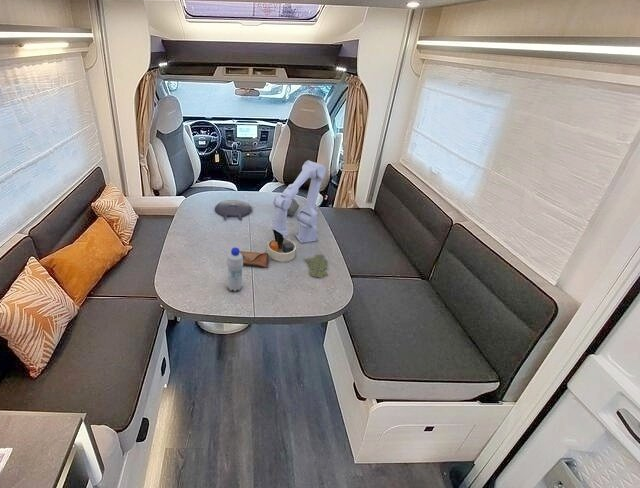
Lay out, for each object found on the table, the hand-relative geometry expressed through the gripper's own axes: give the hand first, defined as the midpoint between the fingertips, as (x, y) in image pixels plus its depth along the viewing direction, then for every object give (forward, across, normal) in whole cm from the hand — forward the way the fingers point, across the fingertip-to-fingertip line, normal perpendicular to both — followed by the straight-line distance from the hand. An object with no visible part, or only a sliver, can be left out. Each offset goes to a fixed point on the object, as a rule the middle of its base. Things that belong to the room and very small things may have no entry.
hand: (278, 242), depth 158 cm
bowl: (+5, +2, +1) cm, 6 cm away
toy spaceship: (+6, -49, -10) cm, 51 cm away
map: (+6, +15, +14) cm, 21 cm away
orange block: (+5, -1, -2) cm, 5 cm away
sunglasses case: (+6, +5, -17) cm, 18 cm away
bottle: (+6, +20, -29) cm, 36 cm away
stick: (+3, +1, +1) cm, 3 cm away
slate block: (+5, +2, +5) cm, 7 cm away
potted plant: (+6, -38, +22) cm, 44 cm away
